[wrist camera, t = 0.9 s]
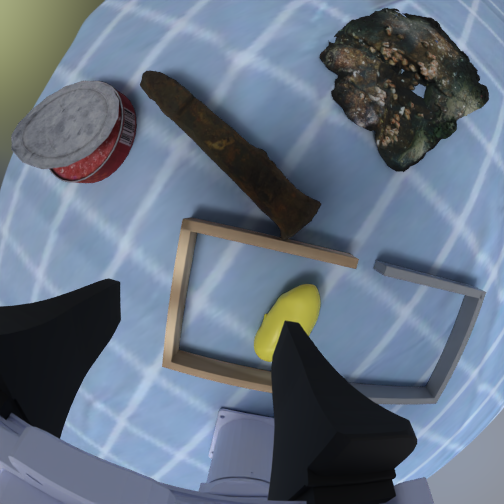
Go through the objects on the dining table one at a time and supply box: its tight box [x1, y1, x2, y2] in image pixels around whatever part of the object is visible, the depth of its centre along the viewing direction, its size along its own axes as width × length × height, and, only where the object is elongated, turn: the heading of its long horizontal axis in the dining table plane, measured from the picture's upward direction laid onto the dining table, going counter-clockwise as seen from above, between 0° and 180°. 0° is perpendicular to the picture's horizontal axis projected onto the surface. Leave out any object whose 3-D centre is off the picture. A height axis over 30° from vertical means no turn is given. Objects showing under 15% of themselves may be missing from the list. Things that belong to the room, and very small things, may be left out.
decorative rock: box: [320, 8, 489, 172], centre depth 19 cm, size 19×6×15 cm
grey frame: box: [350, 260, 486, 404], centre depth 23 cm, size 14×13×2 cm
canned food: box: [12, 81, 137, 183], centre depth 20 cm, size 11×10×10 cm
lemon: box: [254, 284, 321, 362], centre depth 23 cm, size 4×8×4 cm, turn 144°
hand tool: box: [140, 71, 321, 240], centre depth 21 cm, size 19×4×5 cm, turn 42°
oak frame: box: [162, 217, 359, 393], centre depth 24 cm, size 14×14×2 cm
